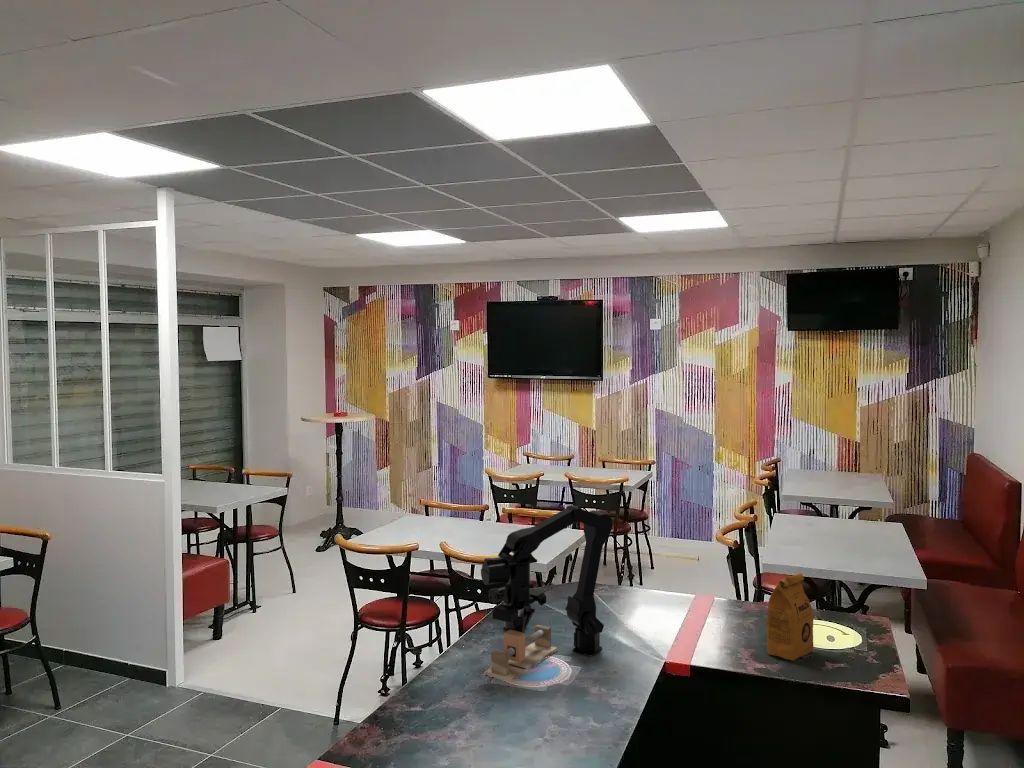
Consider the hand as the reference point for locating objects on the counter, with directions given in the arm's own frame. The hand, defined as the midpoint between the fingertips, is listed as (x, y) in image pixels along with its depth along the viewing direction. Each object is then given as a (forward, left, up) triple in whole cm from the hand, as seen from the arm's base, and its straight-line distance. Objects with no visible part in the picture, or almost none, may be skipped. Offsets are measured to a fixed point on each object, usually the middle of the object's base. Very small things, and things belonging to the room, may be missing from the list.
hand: (519, 636), depth 199 cm
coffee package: (-60, -46, -8) cm, 76 cm away
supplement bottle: (+16, -22, -8) cm, 28 cm away
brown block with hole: (0, +3, -5) cm, 6 cm away
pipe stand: (0, -1, -8) cm, 8 cm away
